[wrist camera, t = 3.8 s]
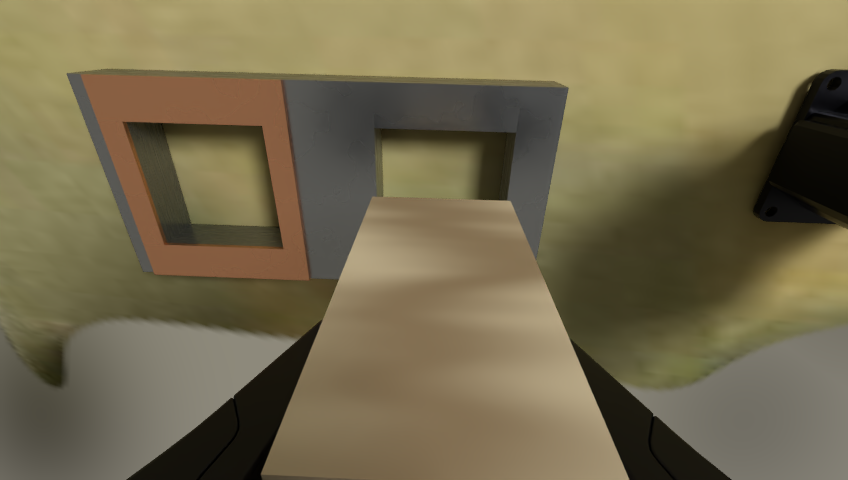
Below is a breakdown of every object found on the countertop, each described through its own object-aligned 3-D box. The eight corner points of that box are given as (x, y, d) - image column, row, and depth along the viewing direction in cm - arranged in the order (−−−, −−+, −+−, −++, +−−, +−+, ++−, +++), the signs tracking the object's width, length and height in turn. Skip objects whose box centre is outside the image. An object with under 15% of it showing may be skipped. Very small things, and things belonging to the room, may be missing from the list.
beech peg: (510, 200, 11) (635, 491, 4) (495, 310, 13) (562, 637, 6) (372, 196, 11) (259, 474, 4) (377, 306, 13) (306, 624, 6)
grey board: (554, 81, 16) (570, 88, 14) (523, 264, 20) (531, 289, 18) (106, 69, 16) (62, 74, 15) (168, 251, 21) (140, 274, 19)
